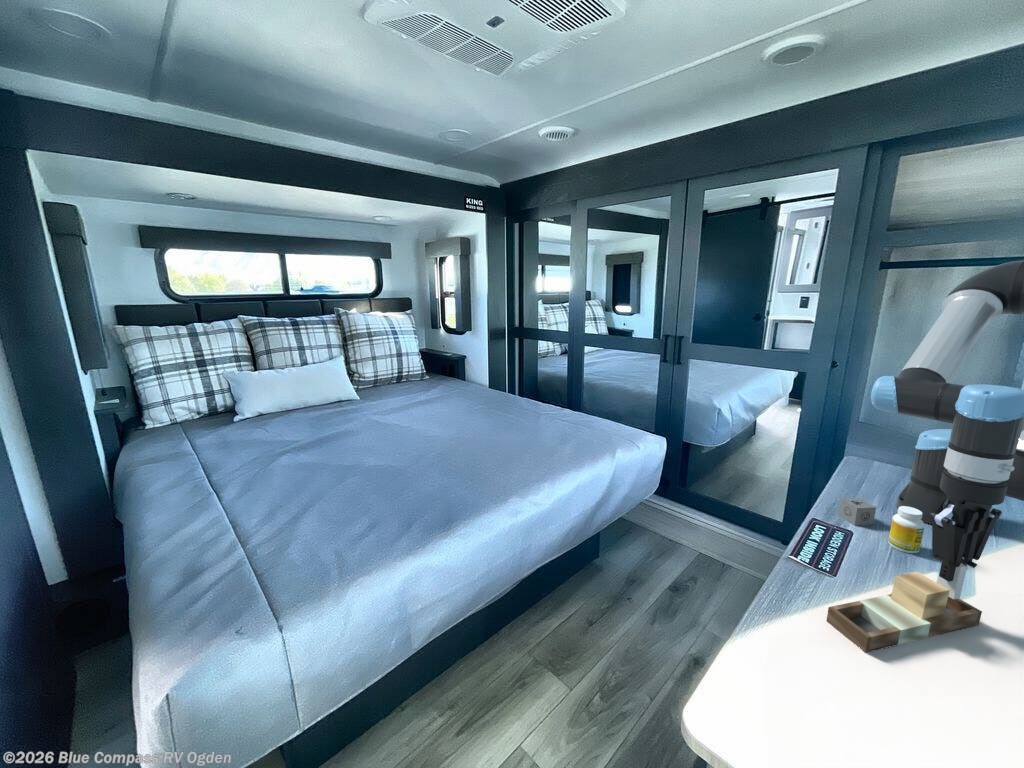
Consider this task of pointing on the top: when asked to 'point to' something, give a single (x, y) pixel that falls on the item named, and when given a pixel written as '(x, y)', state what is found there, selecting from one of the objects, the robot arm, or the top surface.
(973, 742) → the top surface
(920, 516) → the supplement bottle
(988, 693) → the top surface
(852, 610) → the board
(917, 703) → the top surface
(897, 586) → the oak block
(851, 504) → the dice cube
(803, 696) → the top surface
